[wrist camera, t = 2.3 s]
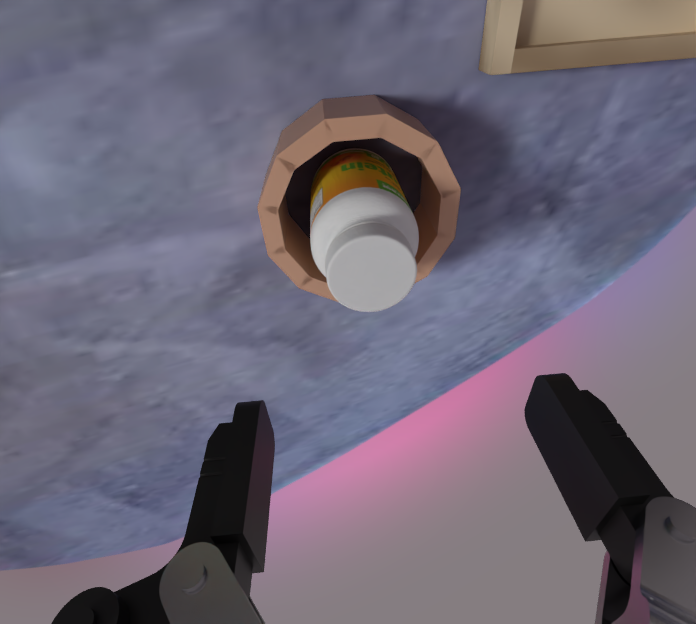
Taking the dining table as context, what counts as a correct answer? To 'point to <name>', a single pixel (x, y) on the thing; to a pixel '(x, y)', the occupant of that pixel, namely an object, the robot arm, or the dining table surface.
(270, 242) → the holder ring
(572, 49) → the tray
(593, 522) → the robot arm
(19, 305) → the dining table surface
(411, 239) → the supplement bottle
